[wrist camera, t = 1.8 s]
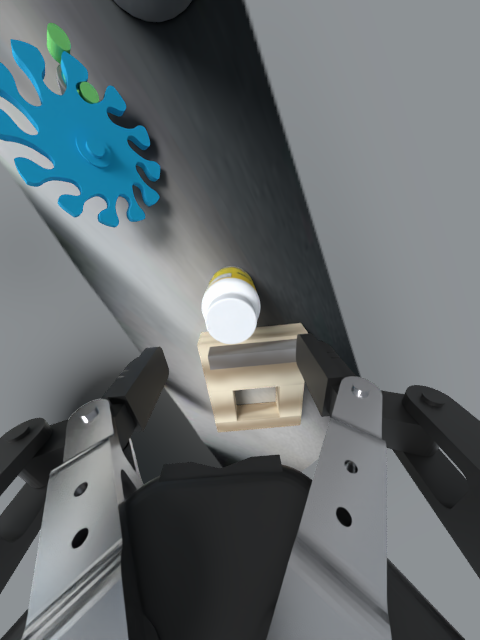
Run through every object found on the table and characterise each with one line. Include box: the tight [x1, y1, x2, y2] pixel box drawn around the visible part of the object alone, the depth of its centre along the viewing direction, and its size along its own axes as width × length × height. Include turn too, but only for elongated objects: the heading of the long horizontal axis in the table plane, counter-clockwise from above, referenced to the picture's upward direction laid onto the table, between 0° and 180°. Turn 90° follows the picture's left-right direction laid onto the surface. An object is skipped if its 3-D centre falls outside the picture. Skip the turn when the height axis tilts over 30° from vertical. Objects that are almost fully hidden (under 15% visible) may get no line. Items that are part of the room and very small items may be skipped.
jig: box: [197, 323, 308, 432], centre depth 27 cm, size 18×14×5 cm
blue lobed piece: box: [0, 23, 160, 227], centre depth 15 cm, size 11×6×10 cm
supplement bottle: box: [202, 266, 261, 344], centre depth 18 cm, size 5×5×10 cm
